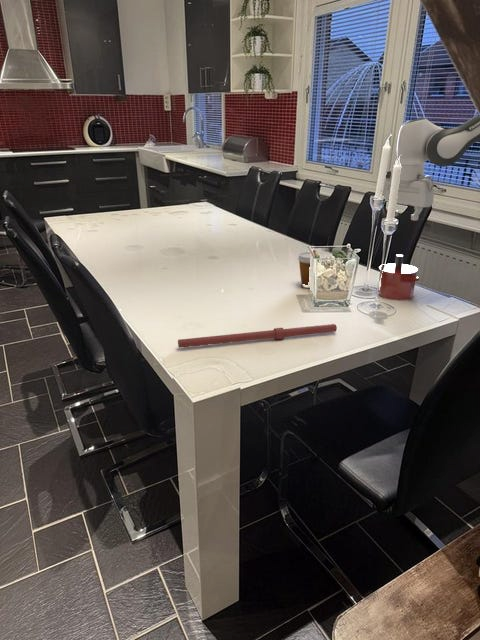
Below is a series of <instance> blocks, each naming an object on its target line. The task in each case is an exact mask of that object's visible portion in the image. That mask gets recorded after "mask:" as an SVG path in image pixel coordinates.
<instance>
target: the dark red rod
mask: <svg viewBox="0 0 480 640" xmlns="http://www.w3.org/2000/svg"><path fill="white" fill-rule="evenodd" d="M337 329H338V326H337V325H336V324H335V323H329V324H320V325H310V326H300V327H299V326H298V327H289V328H283V327H275V328H273V329H272V330H260V331H251V332H250V331H249V332H240V333H231V334H229V333H228V334H221V335H212V336H211V335H209V336H201V337H191V338H181V339H178V340H177V346H178V348H179V349H181V348H180V347H184V348H190V347H189V346H193V347H201V346H200V345H203V346H209V345H208V344H213V345H220V343H222V344H231V343H230V342H232V343H240V342H241V343H242V342H250V341H258V340H259V341H260V340H269V339H274V340H284V339H285V338H288V337H297V336H307V335H317V334H326V333H336V332H337Z"/></svg>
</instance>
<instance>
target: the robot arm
mask: <svg viewBox="0 0 480 640" xmlns="http://www.w3.org/2000/svg"><path fill="white" fill-rule="evenodd" d="M478 141H480V117H479V116H478V114H476V115H474V116H473V117H472V118H470V119H468V120H467V121H465V122H464V123H462V124H460V125H457V126H456V127H450V128H443V127H440V126H438V125H436V124H435V123H433V122H431V121H430V120H429V119H428V118H426V117H422V118H416V119H412V120H407V121H405V122H404V123H402V124H401V126H400V128H399V131H398V136H397V142H396V155H397V157H396V160H395V163H396V162H397V160H398V158H399V156H400V155H401V154H402V155H401V157H400V163H401V166H402V169H401V175H400V184H399V190H398V199H397V204H400V205H405V206H412V207H414V208H413V210H414V212H413V214H411V215H410V220H411V221H414V222H415V221H419V217H420V214H421V213H422V211H423V209H424V208H431V207H432V206H433V204H434V195H435V190H434V189H435V188H434V179H433V178H432V177H431V176H430V175H424V174H425V165H426V162H428V161H430V163H432V164H433V165H435V166H437V167H449V166H452V165H454V164H456V163H457V162H458V161H459V160H460V159H461V158H462V157H463V156H464V154H465V153H466V152H467V151H468V149H469V148H470V147H471V146H473V145H474V144H475V143H477V142H478ZM386 171H387V175H386V181H385V186H384V190H383V196H384V197H385V201H384V202H387V203H389V202H388V199H389V194H390V187H391V179H392V171H393V168H391V169H389V170H386ZM398 216H399V210H396V212H395V217H398Z"/></svg>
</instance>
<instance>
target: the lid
mask: <svg viewBox="0 0 480 640" xmlns="http://www.w3.org/2000/svg"><path fill="white" fill-rule="evenodd" d="M382 265H383V264H381V265H380V266H378V270H379V272H380V271H381V267H382ZM384 265H385V267H384V270H382V271H383V272H384V273H388V274H393V275H411V274H415V273H416V274H417V273H418V271H419V268H417V267H416V266H413V265H409V264H406V263H405V264H404V255H403V254H395V261H394V263H387V264H386V263H385V264H384Z"/></svg>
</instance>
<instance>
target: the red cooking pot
mask: <svg viewBox="0 0 480 640" xmlns="http://www.w3.org/2000/svg"><path fill="white" fill-rule="evenodd" d="M380 273H381V271H380V270H379V274H380ZM419 280H420V277H418V276H417V273H415V274H411V275H393V274H388V273H384V272H383V273H382V278H381V287H380V295H379V297H381V298H383V299H386V300H391V301H407V300H411V299H413V298H414V296H415V295H414V294H415V286H416V282H419Z"/></svg>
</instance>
